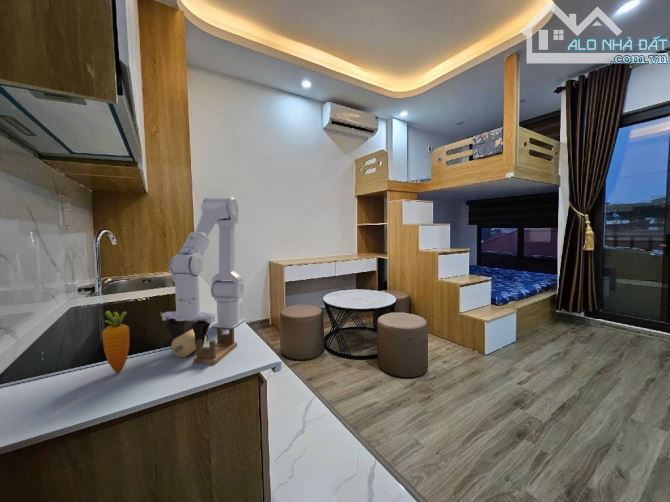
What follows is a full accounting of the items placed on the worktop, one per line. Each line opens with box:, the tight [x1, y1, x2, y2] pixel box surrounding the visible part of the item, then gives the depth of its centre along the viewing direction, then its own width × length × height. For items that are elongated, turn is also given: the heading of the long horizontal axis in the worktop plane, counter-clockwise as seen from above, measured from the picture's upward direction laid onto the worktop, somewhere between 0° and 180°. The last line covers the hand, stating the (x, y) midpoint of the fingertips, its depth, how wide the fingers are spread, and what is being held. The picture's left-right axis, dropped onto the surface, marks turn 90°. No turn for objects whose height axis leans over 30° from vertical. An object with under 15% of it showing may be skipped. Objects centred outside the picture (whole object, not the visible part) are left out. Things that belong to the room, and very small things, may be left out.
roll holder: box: [193, 327, 238, 365], centre depth 76 cm, size 6×11×6 cm, turn 171°
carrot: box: [101, 310, 130, 374], centre depth 66 cm, size 5×5×15 cm
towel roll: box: [170, 328, 207, 358], centre depth 77 cm, size 6×10×6 cm, turn 171°
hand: (189, 346), depth 77 cm, fingers closed on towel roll, 5 cm apart
